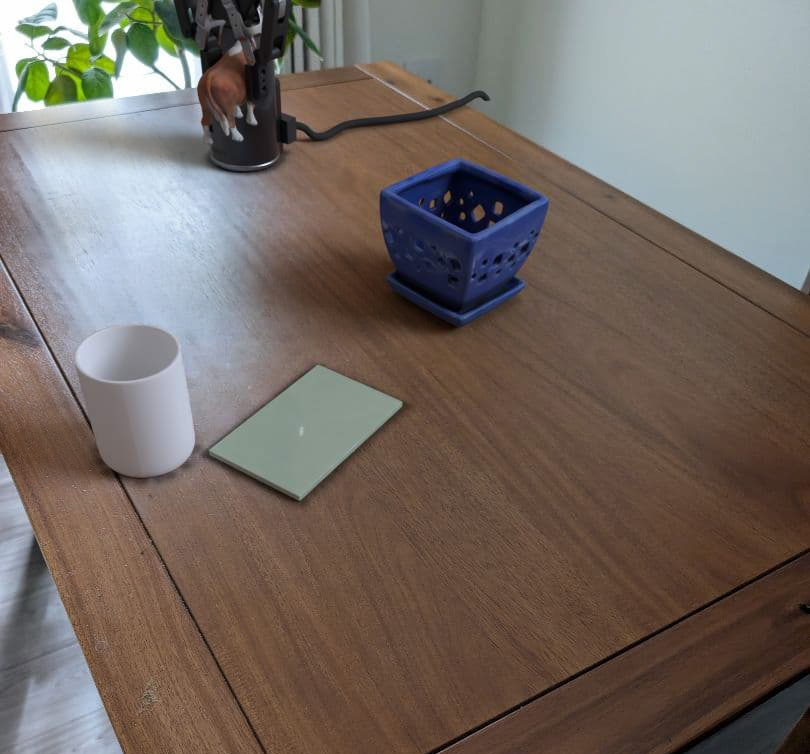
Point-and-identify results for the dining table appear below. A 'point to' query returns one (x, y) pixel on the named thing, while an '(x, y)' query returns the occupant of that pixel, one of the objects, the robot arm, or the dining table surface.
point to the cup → (136, 398)
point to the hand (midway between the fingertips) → (236, 94)
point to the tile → (306, 431)
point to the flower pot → (459, 238)
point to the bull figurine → (225, 93)
